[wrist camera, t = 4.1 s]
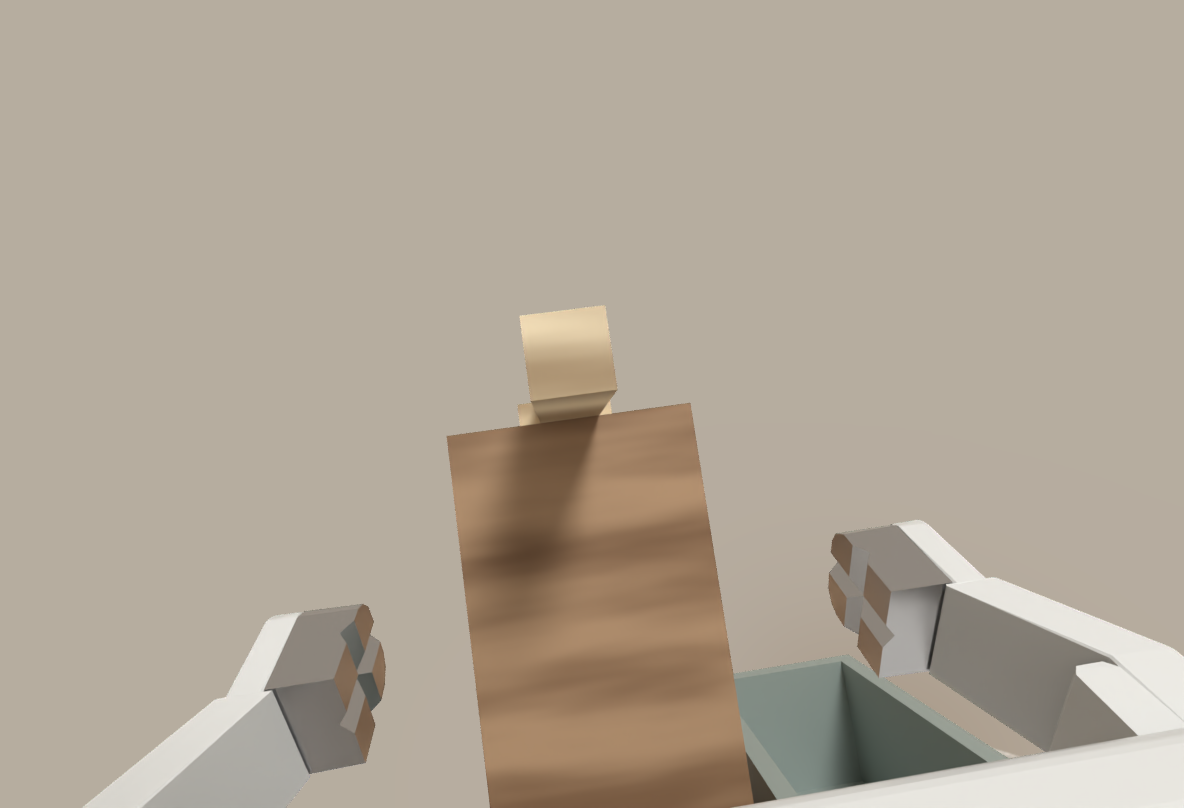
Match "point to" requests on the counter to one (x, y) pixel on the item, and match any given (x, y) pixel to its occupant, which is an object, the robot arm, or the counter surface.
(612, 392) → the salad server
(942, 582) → the robot arm
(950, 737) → the bin
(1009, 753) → the counter surface
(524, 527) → the stand
